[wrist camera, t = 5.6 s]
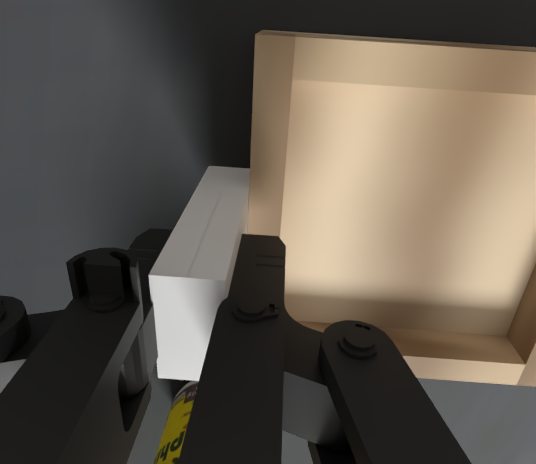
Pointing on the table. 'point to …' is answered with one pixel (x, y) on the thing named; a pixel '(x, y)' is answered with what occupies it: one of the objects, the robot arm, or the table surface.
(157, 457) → the supplement bottle
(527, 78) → the beige shadow box
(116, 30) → the table surface
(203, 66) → the table surface
